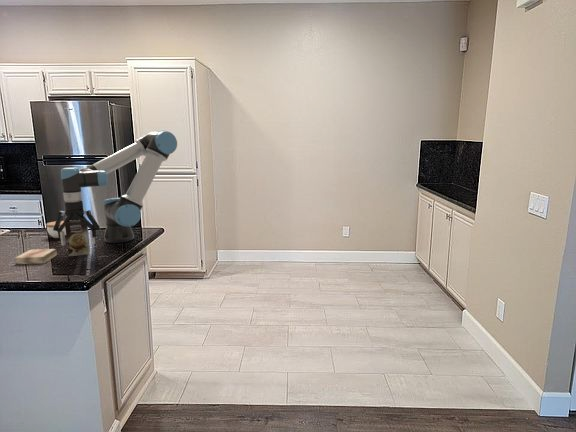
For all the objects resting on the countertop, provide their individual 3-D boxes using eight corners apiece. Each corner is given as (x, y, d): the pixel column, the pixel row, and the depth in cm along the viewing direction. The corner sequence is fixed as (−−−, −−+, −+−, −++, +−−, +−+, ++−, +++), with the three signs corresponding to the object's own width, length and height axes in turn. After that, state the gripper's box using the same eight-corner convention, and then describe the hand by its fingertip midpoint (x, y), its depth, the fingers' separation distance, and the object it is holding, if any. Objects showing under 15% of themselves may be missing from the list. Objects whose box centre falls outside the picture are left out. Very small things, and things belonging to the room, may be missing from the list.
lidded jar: (51, 234, 220) (49, 218, 218) (72, 233, 223) (70, 217, 221) (45, 239, 210) (42, 222, 208) (67, 238, 213) (64, 221, 211)
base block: (57, 254, 184) (56, 248, 183) (44, 263, 172) (43, 256, 172) (30, 255, 183) (29, 249, 182) (15, 264, 171) (14, 257, 171)
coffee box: (68, 256, 181) (64, 223, 178) (69, 252, 187) (65, 220, 184) (89, 254, 185) (86, 221, 181) (90, 250, 191) (87, 219, 187)
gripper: (41, 202, 175) (47, 247, 180) (97, 201, 178) (102, 245, 183) (49, 199, 183) (55, 242, 187) (103, 199, 185) (108, 241, 190)
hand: (78, 244), depth 185 cm, fingers open, 13 cm apart
